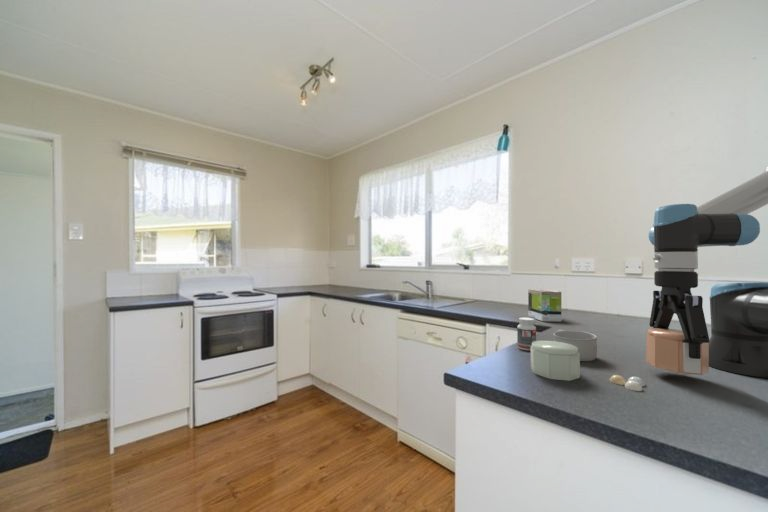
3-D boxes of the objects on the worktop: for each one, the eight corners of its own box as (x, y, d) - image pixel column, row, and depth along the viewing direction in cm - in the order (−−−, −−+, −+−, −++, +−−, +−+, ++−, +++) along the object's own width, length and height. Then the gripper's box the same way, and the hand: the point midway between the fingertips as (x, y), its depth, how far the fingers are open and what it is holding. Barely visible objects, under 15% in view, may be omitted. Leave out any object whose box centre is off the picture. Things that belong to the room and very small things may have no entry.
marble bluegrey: (640, 388, 70) (640, 375, 70) (647, 393, 67) (647, 380, 68) (624, 387, 71) (624, 373, 71) (631, 392, 68) (631, 378, 68)
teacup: (604, 369, 83) (604, 339, 84) (560, 366, 86) (560, 337, 86) (582, 354, 97) (582, 328, 97) (545, 352, 99) (545, 326, 99)
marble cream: (638, 393, 68) (637, 379, 68) (645, 398, 65) (645, 384, 65) (622, 391, 69) (622, 377, 69) (628, 397, 66) (628, 382, 66)
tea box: (562, 321, 150) (562, 291, 150) (541, 321, 150) (541, 291, 151) (546, 316, 165) (546, 288, 165) (527, 316, 165) (527, 288, 166)
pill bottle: (537, 351, 99) (536, 320, 99) (517, 350, 101) (517, 319, 102) (535, 347, 105) (535, 317, 105) (517, 345, 107) (517, 316, 107)
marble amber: (622, 386, 71) (622, 373, 71) (628, 392, 68) (628, 378, 68) (607, 385, 72) (607, 372, 72) (613, 390, 69) (612, 377, 69)
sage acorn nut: (570, 373, 80) (570, 342, 80) (584, 388, 70) (584, 353, 70) (528, 369, 83) (528, 339, 83) (536, 383, 73) (535, 349, 73)
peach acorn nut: (687, 362, 77) (687, 329, 77) (719, 376, 67) (718, 339, 67) (639, 358, 79) (639, 327, 79) (663, 371, 70) (662, 335, 70)
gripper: (632, 269, 85) (633, 350, 85) (687, 271, 64) (689, 380, 63) (665, 269, 83) (666, 352, 83) (734, 271, 62) (735, 384, 61)
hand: (676, 364), depth 73 cm, fingers closed on peach acorn nut, 10 cm apart
